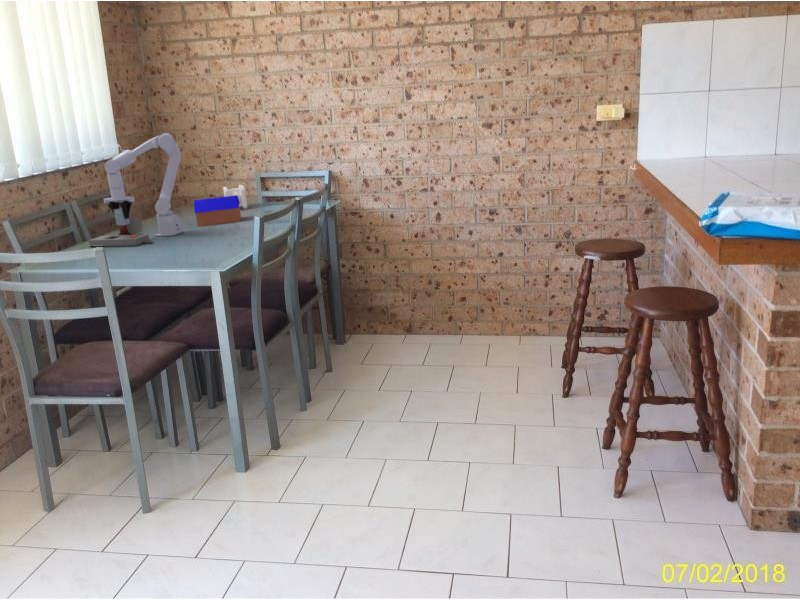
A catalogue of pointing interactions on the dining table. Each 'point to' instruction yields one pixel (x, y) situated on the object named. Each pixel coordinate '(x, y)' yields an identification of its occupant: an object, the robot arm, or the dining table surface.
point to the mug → (131, 227)
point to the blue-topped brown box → (217, 210)
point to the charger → (120, 217)
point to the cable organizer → (239, 192)
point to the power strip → (121, 240)
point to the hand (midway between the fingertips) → (122, 218)
